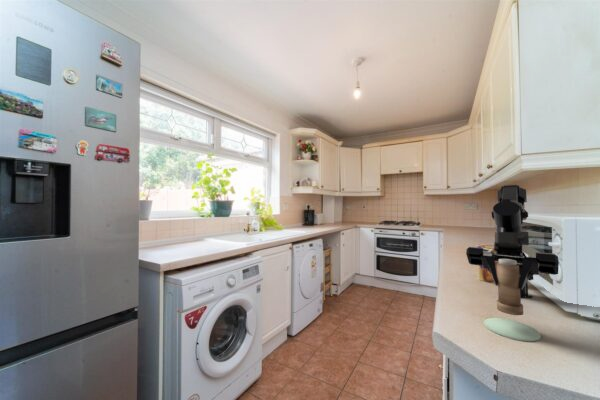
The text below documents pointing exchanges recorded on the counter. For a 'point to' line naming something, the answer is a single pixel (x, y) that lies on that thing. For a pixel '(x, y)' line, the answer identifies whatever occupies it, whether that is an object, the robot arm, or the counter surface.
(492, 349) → the counter surface
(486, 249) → the candy box
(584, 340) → the counter surface
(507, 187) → the robot arm
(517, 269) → the pepper mill
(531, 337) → the rubber mat
